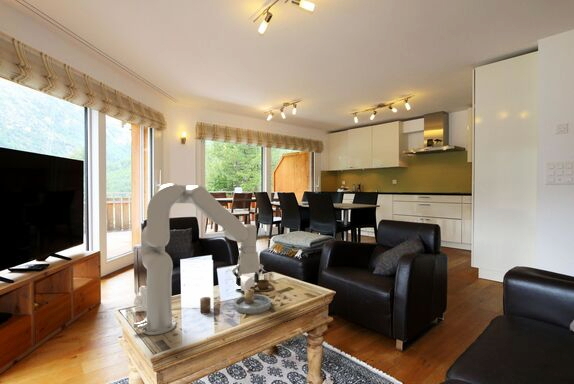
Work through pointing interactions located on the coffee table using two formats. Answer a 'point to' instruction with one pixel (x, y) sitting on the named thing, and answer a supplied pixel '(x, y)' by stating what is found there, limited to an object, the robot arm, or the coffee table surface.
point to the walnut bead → (205, 305)
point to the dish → (258, 306)
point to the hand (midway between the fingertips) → (247, 283)
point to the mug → (246, 283)
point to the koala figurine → (141, 299)
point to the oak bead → (249, 296)
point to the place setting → (262, 286)
